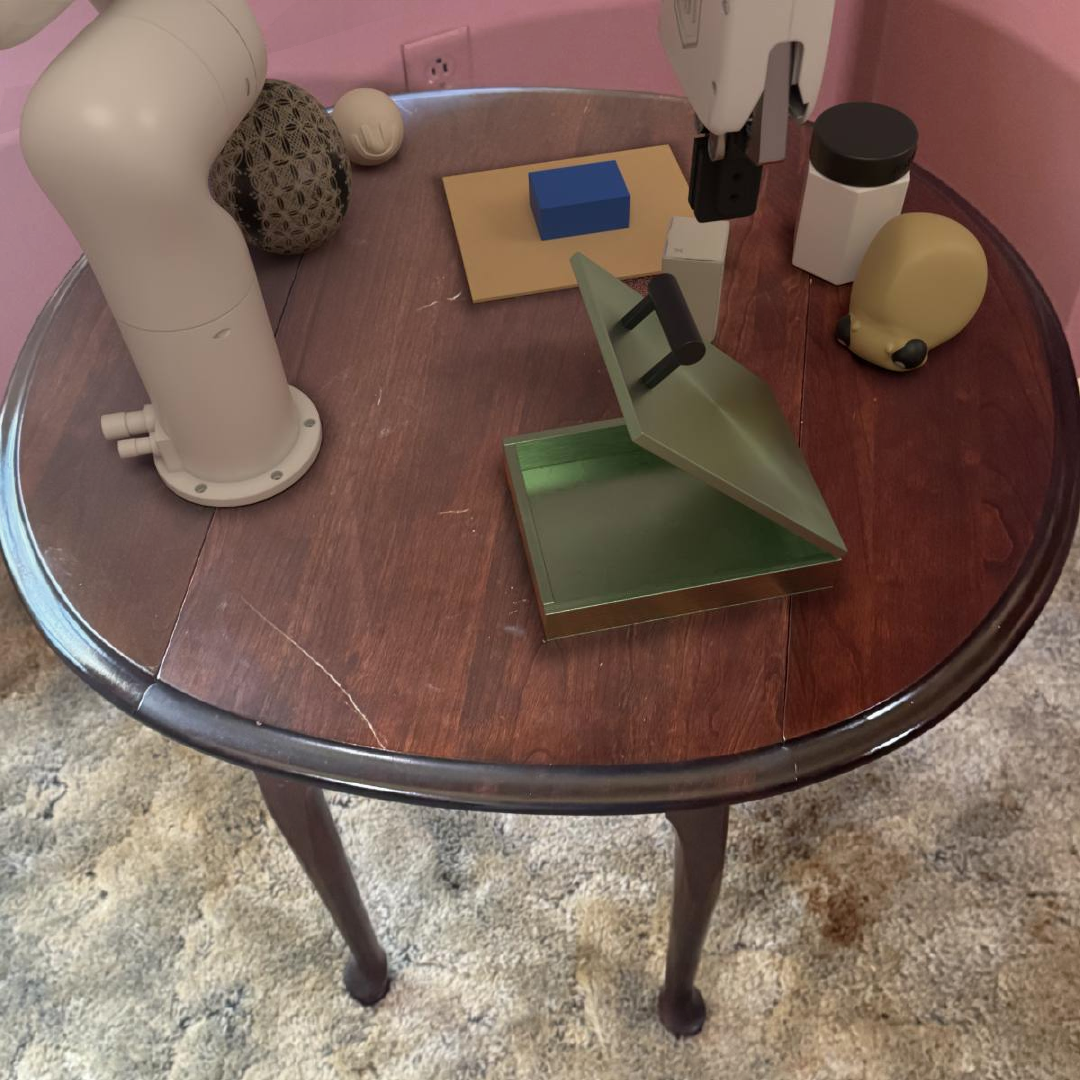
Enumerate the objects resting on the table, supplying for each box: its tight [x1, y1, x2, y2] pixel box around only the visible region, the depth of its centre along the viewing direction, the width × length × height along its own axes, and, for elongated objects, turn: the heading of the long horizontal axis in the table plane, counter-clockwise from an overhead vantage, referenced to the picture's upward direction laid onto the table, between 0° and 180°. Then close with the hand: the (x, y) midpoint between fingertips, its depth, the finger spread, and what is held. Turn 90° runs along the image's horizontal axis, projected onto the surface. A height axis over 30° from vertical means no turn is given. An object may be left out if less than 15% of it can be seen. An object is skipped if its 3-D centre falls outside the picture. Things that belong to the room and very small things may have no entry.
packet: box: [528, 160, 630, 241], centre depth 99 cm, size 8×6×3 cm
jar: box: [791, 101, 920, 286], centre depth 92 cm, size 9×8×12 cm
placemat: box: [441, 143, 696, 304], centre depth 100 cm, size 22×18×1 cm
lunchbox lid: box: [569, 251, 849, 558], centre depth 69 cm, size 20×16×5 cm
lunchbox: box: [501, 416, 842, 642], centre depth 77 cm, size 20×16×4 cm
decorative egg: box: [209, 78, 353, 256], centre depth 94 cm, size 12×12×15 cm
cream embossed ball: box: [330, 87, 405, 167], centre depth 105 cm, size 7×7×7 cm
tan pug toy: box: [834, 211, 989, 372], centre depth 86 cm, size 10×12×11 cm
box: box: [661, 216, 730, 347], centre depth 83 cm, size 5×4×13 cm
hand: (721, 210), depth 58 cm, fingers closed
